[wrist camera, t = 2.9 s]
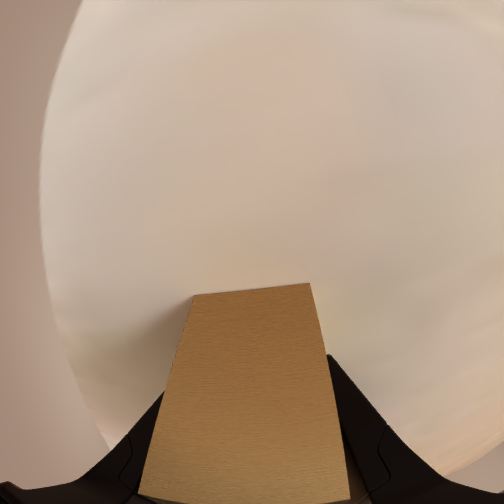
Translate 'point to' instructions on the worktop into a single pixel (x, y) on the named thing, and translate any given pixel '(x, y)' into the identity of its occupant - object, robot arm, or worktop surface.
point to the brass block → (248, 407)
